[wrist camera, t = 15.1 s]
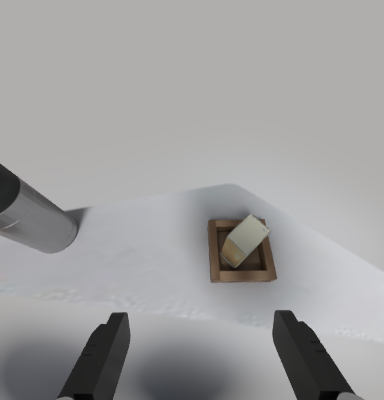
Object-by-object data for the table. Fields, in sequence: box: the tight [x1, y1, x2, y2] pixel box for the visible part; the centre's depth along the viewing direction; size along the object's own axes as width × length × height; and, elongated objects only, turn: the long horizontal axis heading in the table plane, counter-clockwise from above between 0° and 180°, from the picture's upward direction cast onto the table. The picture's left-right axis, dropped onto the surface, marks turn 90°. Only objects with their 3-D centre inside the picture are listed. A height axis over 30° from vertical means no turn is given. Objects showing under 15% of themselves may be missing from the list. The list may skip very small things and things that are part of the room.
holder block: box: [208, 219, 277, 283], centre depth 41 cm, size 12×12×4 cm
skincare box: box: [220, 214, 271, 269], centre depth 36 cm, size 6×4×12 cm
